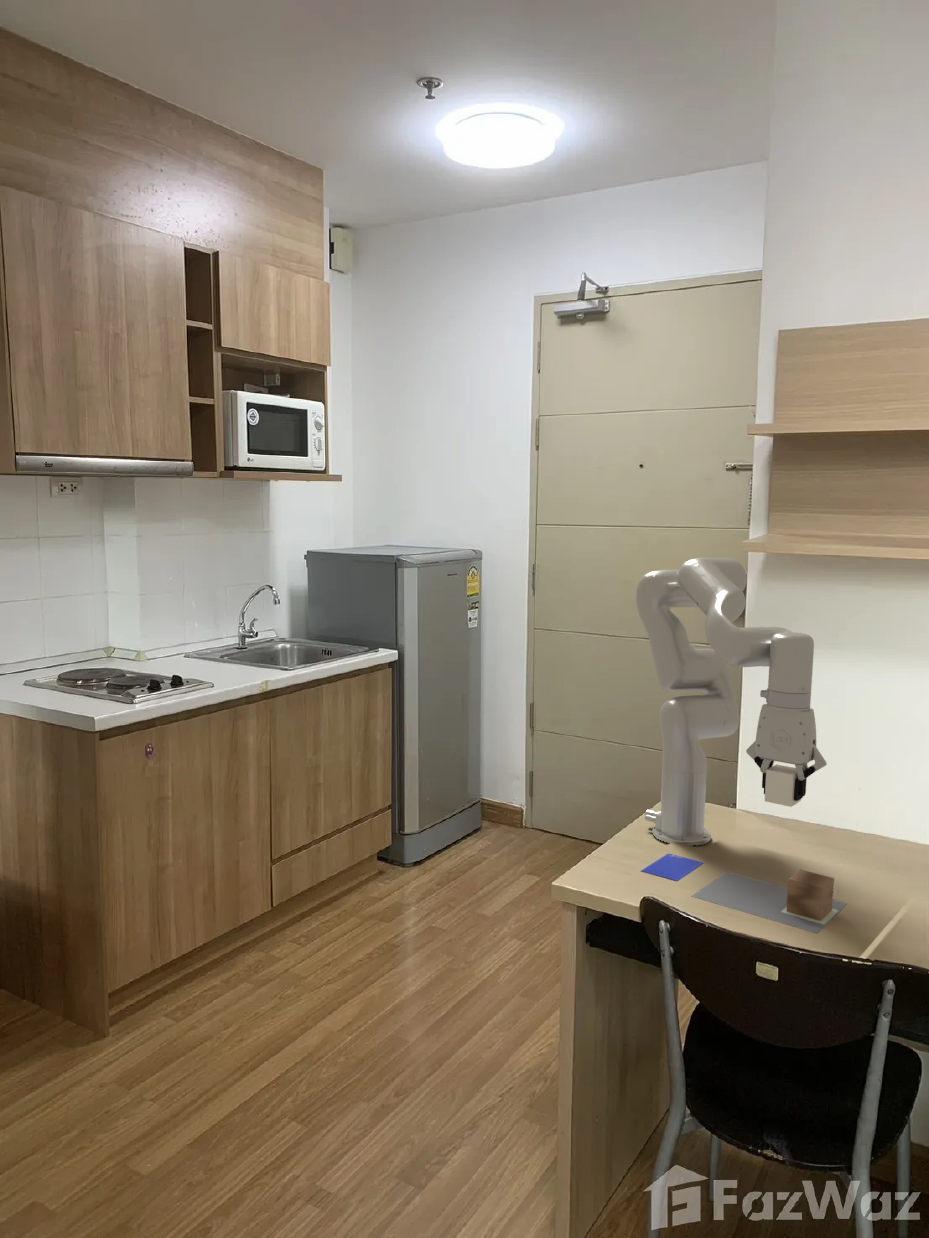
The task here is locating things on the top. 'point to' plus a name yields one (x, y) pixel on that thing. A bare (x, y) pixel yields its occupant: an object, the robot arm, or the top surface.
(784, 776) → the cream block
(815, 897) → the walnut block
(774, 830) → the top surface
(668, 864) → the blue square mat
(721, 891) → the board
